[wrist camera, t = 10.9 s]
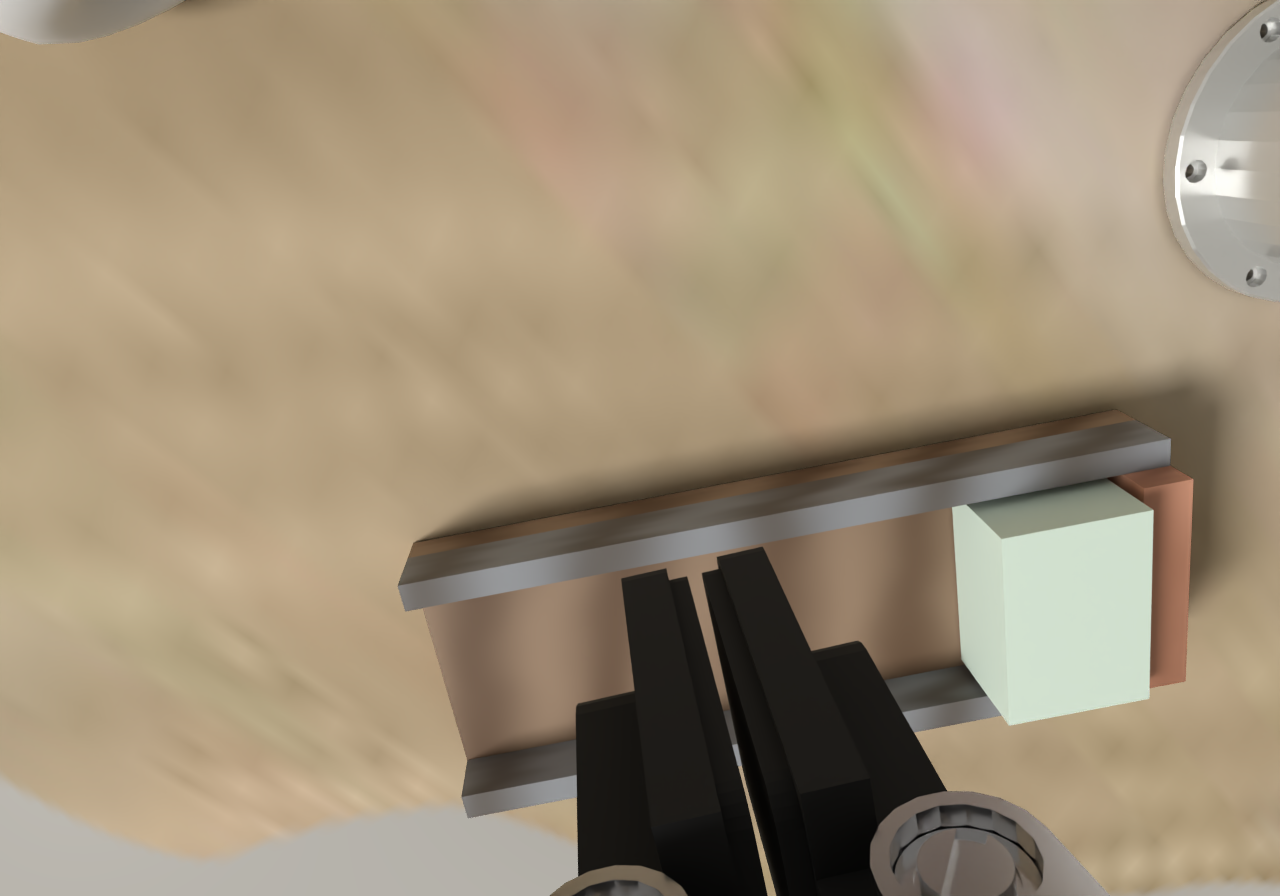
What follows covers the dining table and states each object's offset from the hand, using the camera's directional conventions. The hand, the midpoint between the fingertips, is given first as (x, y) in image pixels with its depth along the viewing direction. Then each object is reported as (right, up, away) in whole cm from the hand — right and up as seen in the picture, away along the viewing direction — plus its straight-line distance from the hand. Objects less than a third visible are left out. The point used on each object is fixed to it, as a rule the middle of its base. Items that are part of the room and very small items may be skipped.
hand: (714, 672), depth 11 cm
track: (+6, -4, +32) cm, 33 cm away
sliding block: (+16, -3, +31) cm, 35 cm away
